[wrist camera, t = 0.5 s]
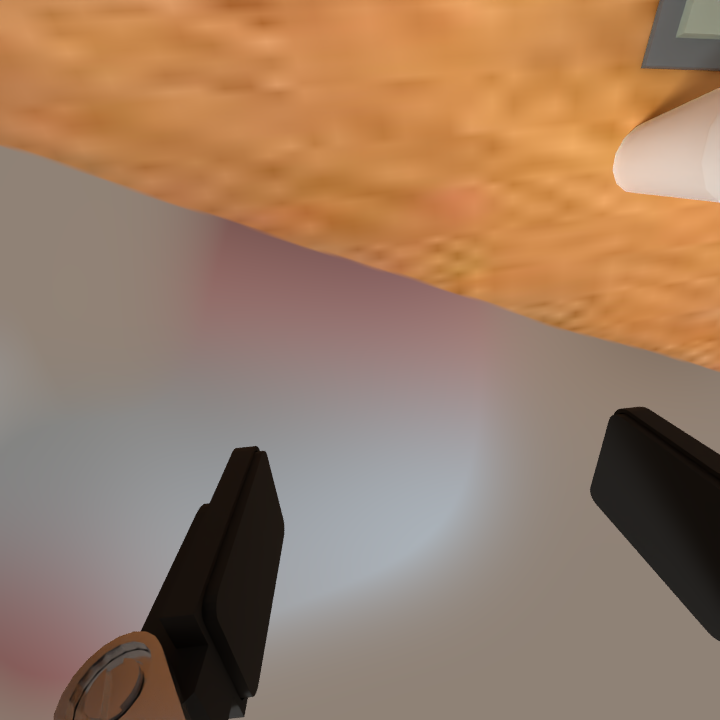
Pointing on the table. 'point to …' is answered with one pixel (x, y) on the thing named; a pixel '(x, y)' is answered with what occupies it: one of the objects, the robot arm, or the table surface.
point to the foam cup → (674, 153)
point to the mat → (678, 43)
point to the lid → (700, 20)
